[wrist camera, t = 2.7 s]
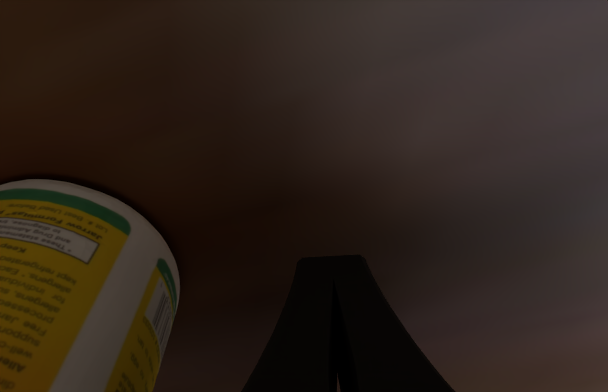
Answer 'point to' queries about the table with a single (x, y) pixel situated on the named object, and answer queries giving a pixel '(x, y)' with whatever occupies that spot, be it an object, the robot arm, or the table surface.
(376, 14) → the table surface
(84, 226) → the supplement bottle
